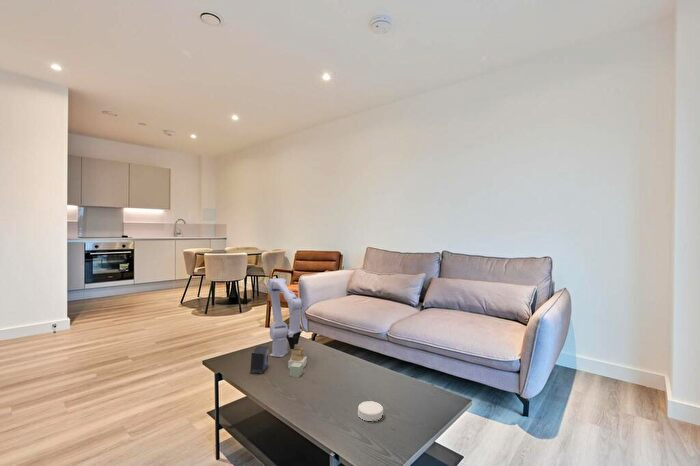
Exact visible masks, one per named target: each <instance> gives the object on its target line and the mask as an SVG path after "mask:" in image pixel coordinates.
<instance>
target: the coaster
mask: <svg viewBox="0 0 700 466" xmlns="http://www.w3.org/2000/svg"><path fill="white" fill-rule="evenodd" d="M382 415H383V416H384V407H383V406H382V405H381V403H378V402H376V401H371V400H369V401H368V400H366V401H363V402H361V403H359V405H358V407H357V416H358V418H359V417H360V418H361V419H360V418H359V419H360V420H362V419H363V420H362V421H364V420H367V421H372V420H376V419H379V418H381V416H382Z"/></svg>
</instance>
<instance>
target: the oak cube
mask: <svg viewBox="0 0 700 466" xmlns="http://www.w3.org/2000/svg"><path fill="white" fill-rule="evenodd" d="M304 351H305V348H303V347H294V349H291V356H290V358H291V360H296V361H301V360H302V359H303V357H304V353H305V352H304Z"/></svg>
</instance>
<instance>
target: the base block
mask: <svg viewBox="0 0 700 466" xmlns="http://www.w3.org/2000/svg"><path fill="white" fill-rule="evenodd" d="M307 360H308V356H304V357H303V359H302V360H301V361H296V360H291V357H290V358H289V359H288V364H287V368H288V369H290V366H291V365H292V364H293V363H294V362H296V363H303V370H304V368H305V367H306V365H307V362H308V361H307Z"/></svg>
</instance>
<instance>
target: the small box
mask: <svg viewBox="0 0 700 466" xmlns="http://www.w3.org/2000/svg"><path fill="white" fill-rule="evenodd" d="M269 349H270V347H269V346H265V345H263V346H262V345H257V346H256V347H255V348H254V349H253V350H252V352H251V357H250V370H249V371H250V373H249V374H257V375H258V374H259V375H263V373H264V372H265V370H266V369H267V368H268V366H269V351H270V350H269Z"/></svg>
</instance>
